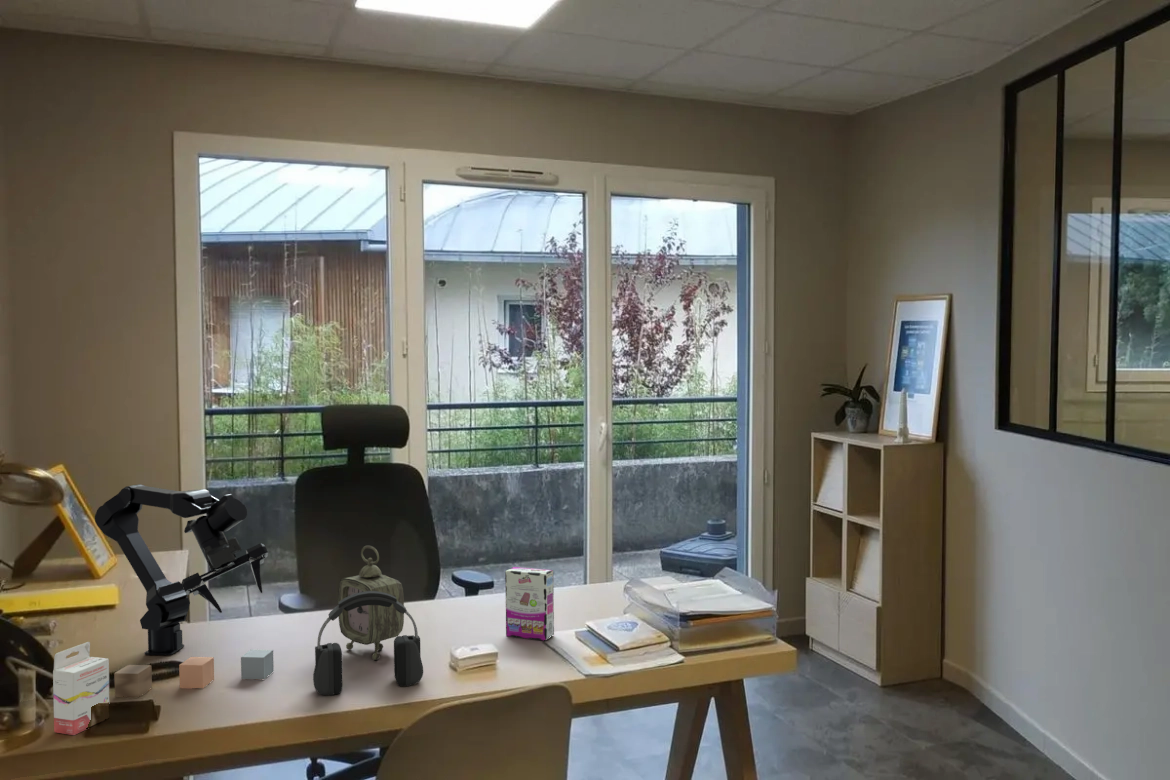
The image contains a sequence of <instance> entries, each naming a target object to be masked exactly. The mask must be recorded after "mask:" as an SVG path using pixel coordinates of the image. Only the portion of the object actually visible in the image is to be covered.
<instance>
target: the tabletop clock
mask: <svg viewBox="0 0 1170 780" xmlns="http://www.w3.org/2000/svg"><path fill="white" fill-rule="evenodd" d="M366 549H370V550H372V551H373V552H374V553H375V555H376V560H375V561H373V558H372V557H369V558H367V559H366V558H365V556H364V551H365V550H366ZM360 556H361V558H362V560H363V562H365V563H366V564H367V565H366V564H365V565H364V566H363V567H362V568H360V570H359V572H358V575H353V576H349V577H343V578H342V579H339V584H338V588H337V589H338V591H337V605H339V604H338V602H339V601H341V600H342V599H344V598H346V597H348V596H350V595H353V594H355V593H359V592H365V591H378V592H384V593H387V594H390V595H393V596H395V597H396V599H397V601H398V602H400V603H401V604H402V605H403V606H404V607H405V599H404V598H405V597H404V588H403V584H402V582H400V580H397V579H395V578H392V577H389V576H387V575H386V574H382V571H381V569H380V568H379V567H378V566H377V564H378V562H379V561H380V555H379V551H378V550H377V549H376V547H374V546H372V545H365V546H362V548H361V551H360ZM404 623H405V613H404V614H402V613H400V612H399V611H397V610H396V609H395V607H394V605H393V604H392V605H391V606H390V607H384V606H380V605H366V606H361V607H357V608H355V609H352V610H349V611H346V610H344V609H343V612H342V613H341V614H340V616H339V617H338V624H339V629H340V633H341V634H342V635H343V636H344V637H345V638H346V639H348V640H350V642H347V643H346V646H345V648H346V649H347V651H350V650H353V649H354V643H357V644H360V645H364V646H365V645H367V646H368V645H371V644H372V645H373V644H374V653H372V655H371V657H372V659H373V660H374V661H378V660H379V659H380V656H381V655H380V654H379V653H378V652H379V651H382V650H383V648H384V644H383V643H381V642H382V641H386V640H389V639H393V638H396V637H397V636H400V634H401V633H402V631H403V628H404Z"/></svg>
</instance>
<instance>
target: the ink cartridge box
mask: <svg viewBox="0 0 1170 780" xmlns="http://www.w3.org/2000/svg"><path fill="white" fill-rule="evenodd" d="M90 649H91V642H90V641H87V642H84V643H81V644H78V645H75V646H73V647H69V648H67V649H64V650H61V651H59V652H56V653H55V654H54V657H53V659H54V660H53V671H52V680H53V681H52V683H53V685H52V686H53V687H52V689H53V690H52V691H53V695H52V696H53V730H54V731H53V733H58V734H63V735H64V734H65V735H69V736H77V734H81V732H83V731H86V730H87V729H86V728H87V727H88V724H89V722H90V720H91V707H92V706H94V705H96V704H98V703H103V702H109V703H110V664H109V663H110V659H109V658H104V657H97V656H90V652H91V651H90ZM77 652H78V653H77ZM72 653H77V654H76V655H73V656H70V657H67V656H69V655H71V654H72Z"/></svg>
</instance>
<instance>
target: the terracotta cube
mask: <svg viewBox="0 0 1170 780" xmlns="http://www.w3.org/2000/svg"><path fill="white" fill-rule="evenodd" d="M178 666H179V669H178V670H179V672H178V673H179V689H192V688H203V689H205V688H206V687H207V686H209V685H210V684H211V683H212V682H213V681H212V680H214V681H215V657H214V656H213V657H209V656H190V657H188V658H187V659H185V660H184V661H183V662H182V663H180V664H179V665H178ZM211 681H212V682H211ZM210 682H211V683H210ZM209 683H210V684H209ZM208 684H209V685H208ZM206 685H207V686H206ZM205 686H206V687H205ZM204 687H205V688H204Z"/></svg>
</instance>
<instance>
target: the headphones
mask: <svg viewBox="0 0 1170 780" xmlns="http://www.w3.org/2000/svg"><path fill="white" fill-rule="evenodd" d="M338 604H339V605H338ZM392 604H393V605H394V607H395V609H396V610H397V611H399V612H400V613H402V614H404V615H406V616H407V617H409V619H410V620H411V622H412V625H413V630H414V635H407V634H405V635H404V634H403V635H398V636H397V637H394V641H393V667H394V668H393V672H394V674H393V675H394V678H395V682H396V683H397V685H398V686H400V687H410V686H411V685H415V684H418V683H419V682H420V681H421V680H422V678H423V675H424V667H423V666H424V665H423V661H422V658H421V655H422V654H421V637H420V636H419V634H418V626H417V624H416V622H415V619H414V618H413V616H412V615H411V614H410V613H409V611H408V610H407V607H405V605H404V606H403V605H402V604H401V603H400V602H398V601H397V599H396V597H395V596H393V595H390V594H387V593H384V592H378V591H365V592H359V593H355V594H353V595H350V596H348V597H346V598H344V599H342V600H341V601H339V602H338V601H337V605H336V606H335V607H334V608H333V609H332V610H331V611H330V612H328V617H327V618H326V620H325V621H324V622H323V623H322V625H321V628H319V631H318V637H317V642H316V643H317V646H314V658H315V659H314V662H315V665H314V671H313V674H312V675H313V677H312V678H313V679H312V680H313V687H314V690H315V691H316V692H317V693H318V694H320V695H322V696H334V695H339V694H340V693H342V691H343V651H342V648H341V645H340V644H339V643H338V642H328V643H324V644H321V639H322V634H323V632H324V631H325V628H326V627H327V625H328V624H329V622H331V621H335V620H336V619H337V618H339V616H340V614H341V613H342V612H343V609H344V610H346V611H349V610H352V609H355V608H357V607H361V606H366V605H380V606H384V607H390V606H391V605H392Z"/></svg>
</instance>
